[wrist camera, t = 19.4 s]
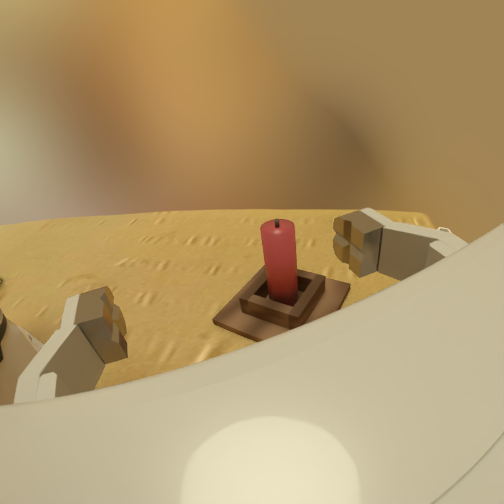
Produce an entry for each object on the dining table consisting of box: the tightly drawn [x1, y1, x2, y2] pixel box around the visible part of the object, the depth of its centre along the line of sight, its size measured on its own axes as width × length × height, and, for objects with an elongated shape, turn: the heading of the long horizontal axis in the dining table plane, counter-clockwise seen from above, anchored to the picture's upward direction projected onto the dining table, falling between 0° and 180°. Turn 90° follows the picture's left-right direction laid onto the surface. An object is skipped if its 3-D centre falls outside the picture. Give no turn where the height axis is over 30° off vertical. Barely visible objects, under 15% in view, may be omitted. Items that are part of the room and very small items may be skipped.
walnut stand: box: [212, 265, 350, 342], centre depth 44 cm, size 16×16×4 cm
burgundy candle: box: [260, 219, 298, 307], centre depth 41 cm, size 4×4×14 cm
